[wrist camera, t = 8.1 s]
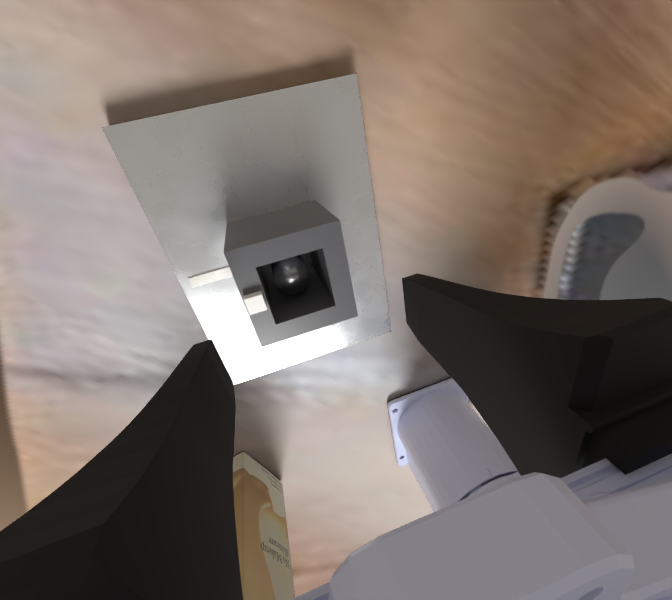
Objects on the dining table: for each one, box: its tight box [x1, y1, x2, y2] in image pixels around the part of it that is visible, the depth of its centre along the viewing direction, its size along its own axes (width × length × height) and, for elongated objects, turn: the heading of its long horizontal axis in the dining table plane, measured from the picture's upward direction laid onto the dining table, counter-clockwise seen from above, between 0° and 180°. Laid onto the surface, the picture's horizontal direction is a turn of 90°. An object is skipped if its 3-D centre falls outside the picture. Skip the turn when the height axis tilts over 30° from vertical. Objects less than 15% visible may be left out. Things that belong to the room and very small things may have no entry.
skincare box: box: [233, 452, 295, 600], centre depth 23 cm, size 6×4×12 cm
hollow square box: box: [224, 200, 358, 347], centre depth 16 cm, size 5×5×5 cm
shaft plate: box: [102, 73, 391, 385], centre depth 18 cm, size 16×12×4 cm
